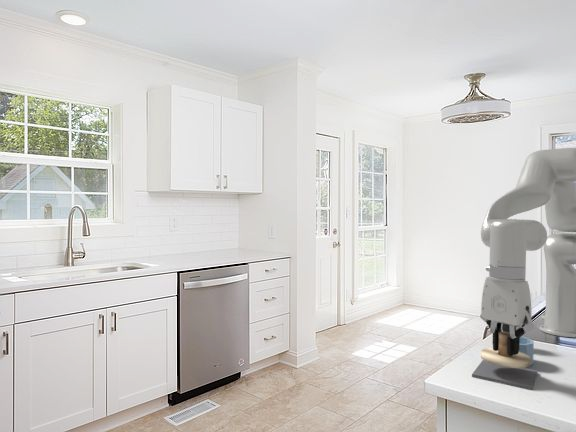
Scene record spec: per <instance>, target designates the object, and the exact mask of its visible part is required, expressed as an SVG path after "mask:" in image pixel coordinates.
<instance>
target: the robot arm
mask: <svg viewBox="0 0 576 432" xmlns="http://www.w3.org/2000/svg"><path fill="white" fill-rule="evenodd" d="M575 182H576V147H564V148H550V149H541V150H536V151H533V152H531V153H530V154H529V155H528V156H527V157H526V159H525V161H524V163H523V166H522V169H521V172H520V175H519V178H518V180H517V182H516V186H515V187H514V188H513V189H511V190H510V191H508V192H506V193H505V194H503V195H502V196H500V197H499V198H498V199H496V200H495V201H494V202H493V203H492V204H491V205H490V206H489V207H488V210H487V212H486V214H485V217H484V220H483V223H482V225H481V230H480V238H481V241H482V243H483V244H484V245H485V246H486V247H487V248H489V265H487V266H485V271H486V272H489V273H488V276H486V277H485V279H484V284H483V288H482V295H481V303H480V304H481V305H480V316H479V317H480V319H481V320H482V321H484V322H485V323H486V325H487V326H488V328H489V331H490V333H492V348H493V350H494V351H498V337H499V332H503V331H502V326H503V324H507V325H509V328H510V337H509V338H508V340H507V354H508V355H510V356H511V355H516V354H518V352H519V340H520V337H523V336H524V335H525V334H526V333H528V332H533V331H535V330H536V327H535V325H534V322H533V320H532V298H531V297H532V296H531V291H530V286H529V282H528V280H526V277H527V276H526V273H527V271H526V270H527V267H526V265H527V262H526V261H527V251H528V252H534V251H537V250H540V249H541V248H542V247H543V253H544V260H545V269H546V271H545V272H546V273H545V275H546V277H545V281H546V282H545V314H544V315H543V314H541V316H540V319H541V320H543V323H542V324H540V325H539V330H540V331H542V332H543V333H546V334H549V335H554V336H558V337H564V338H565V337H566V338H576V268H575V267H574V265H576V183H575ZM542 206H544V210H545V211H544V212H545V219H546V224H547V226H548V228H549V229H550V230H551V231H553V232H554V231H555V232H559V233H551V234H550V235H548V232H547V229H546V227H545V226H544V225H543V223H541V222H540V221H538V220H535V219H516V218H511V217H513V216H516V215H518V214H522V213H526V212H528V211H532V210H535V209H538V208H540V207H542ZM561 232H562V233H561ZM522 325H523V326H522Z"/></svg>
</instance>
